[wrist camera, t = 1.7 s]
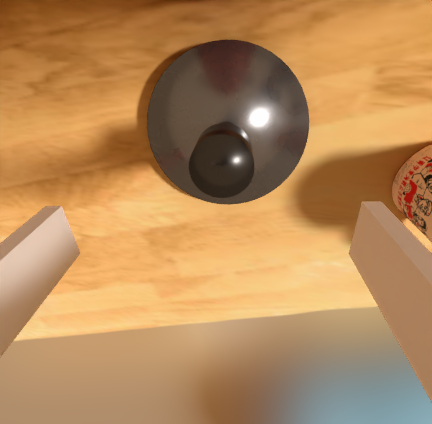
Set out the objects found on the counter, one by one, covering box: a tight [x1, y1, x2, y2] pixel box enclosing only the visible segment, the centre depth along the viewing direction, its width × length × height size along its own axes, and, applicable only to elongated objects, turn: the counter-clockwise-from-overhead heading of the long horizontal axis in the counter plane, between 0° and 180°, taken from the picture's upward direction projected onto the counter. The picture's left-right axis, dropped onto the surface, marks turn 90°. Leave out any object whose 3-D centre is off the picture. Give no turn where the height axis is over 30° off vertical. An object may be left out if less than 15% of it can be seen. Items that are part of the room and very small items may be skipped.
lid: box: [147, 40, 309, 204], centre depth 22 cm, size 15×15×10 cm
